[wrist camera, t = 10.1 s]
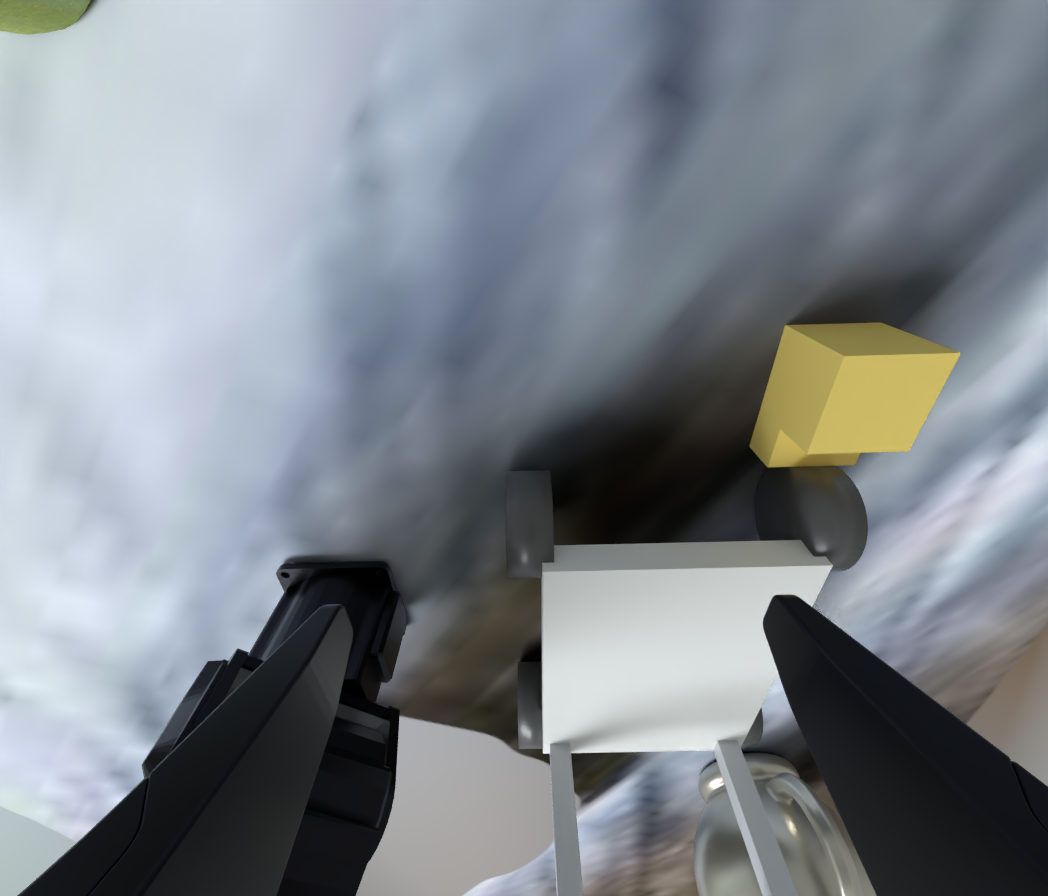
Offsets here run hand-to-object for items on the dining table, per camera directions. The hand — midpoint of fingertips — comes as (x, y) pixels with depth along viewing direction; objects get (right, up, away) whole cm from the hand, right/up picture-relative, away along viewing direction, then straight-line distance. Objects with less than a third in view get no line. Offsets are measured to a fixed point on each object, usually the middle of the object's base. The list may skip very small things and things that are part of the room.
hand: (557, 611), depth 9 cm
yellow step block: (+12, +6, +11) cm, 17 cm away
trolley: (+6, -5, +18) cm, 19 cm away
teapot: (+20, -25, +30) cm, 44 cm away
